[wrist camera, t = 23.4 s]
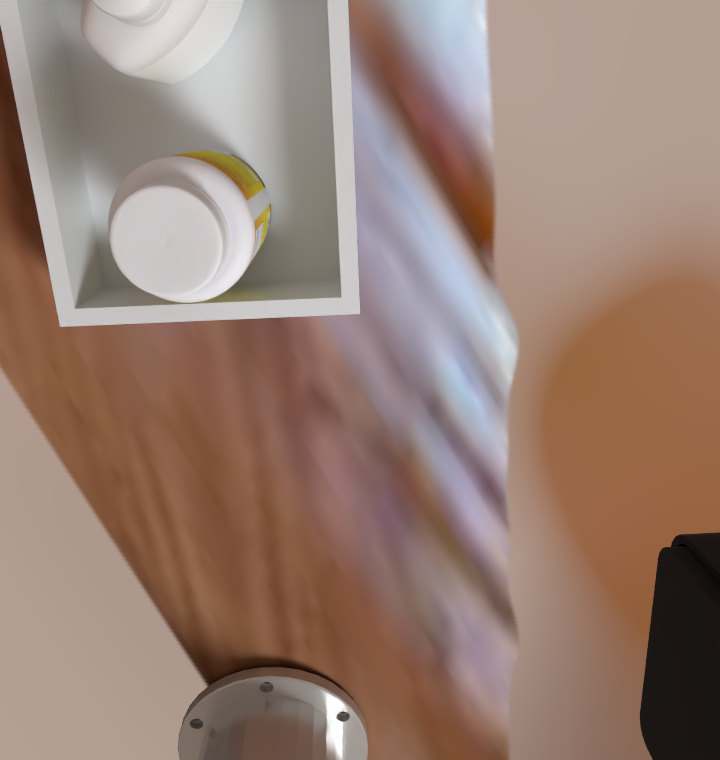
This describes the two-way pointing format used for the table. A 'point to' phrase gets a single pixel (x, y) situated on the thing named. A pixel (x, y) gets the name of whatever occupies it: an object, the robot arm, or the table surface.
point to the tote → (187, 134)
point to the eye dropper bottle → (159, 35)
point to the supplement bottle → (189, 224)
